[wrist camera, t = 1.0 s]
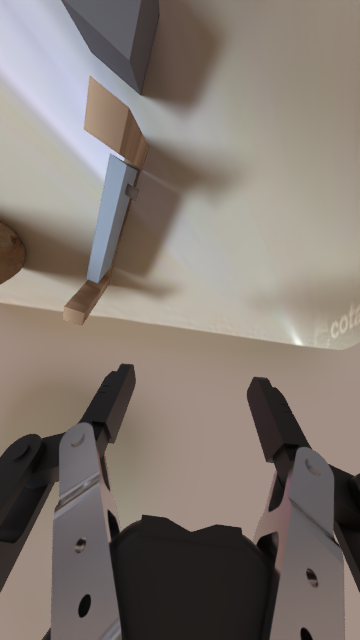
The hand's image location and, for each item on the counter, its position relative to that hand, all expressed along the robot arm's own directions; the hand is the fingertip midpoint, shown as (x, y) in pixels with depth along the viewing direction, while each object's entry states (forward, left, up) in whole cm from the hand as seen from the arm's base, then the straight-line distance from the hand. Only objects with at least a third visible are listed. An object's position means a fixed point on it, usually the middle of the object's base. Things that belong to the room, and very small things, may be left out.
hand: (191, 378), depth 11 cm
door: (-11, 0, -23) cm, 25 cm away
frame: (-11, 0, -23) cm, 26 cm away
